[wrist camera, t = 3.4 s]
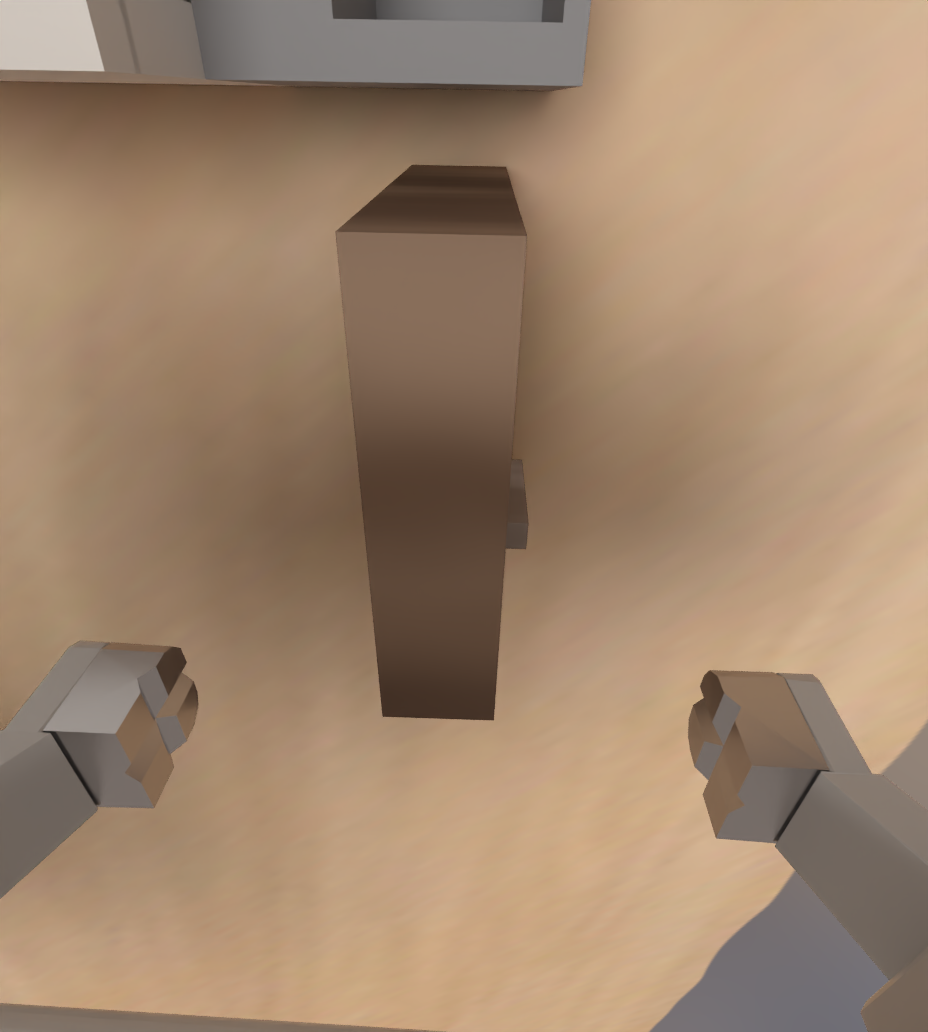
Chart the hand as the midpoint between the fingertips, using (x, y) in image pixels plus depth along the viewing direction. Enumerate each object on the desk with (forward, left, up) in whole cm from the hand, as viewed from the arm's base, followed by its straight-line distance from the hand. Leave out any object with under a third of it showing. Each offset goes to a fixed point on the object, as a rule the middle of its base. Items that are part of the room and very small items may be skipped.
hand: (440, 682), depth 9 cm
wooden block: (0, 0, -16) cm, 16 cm away
